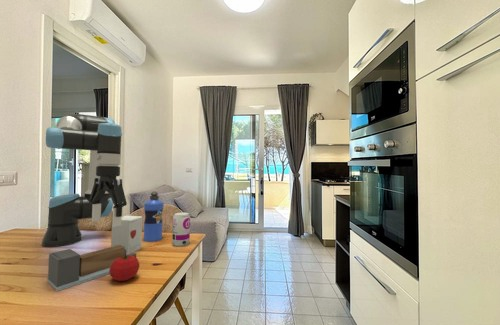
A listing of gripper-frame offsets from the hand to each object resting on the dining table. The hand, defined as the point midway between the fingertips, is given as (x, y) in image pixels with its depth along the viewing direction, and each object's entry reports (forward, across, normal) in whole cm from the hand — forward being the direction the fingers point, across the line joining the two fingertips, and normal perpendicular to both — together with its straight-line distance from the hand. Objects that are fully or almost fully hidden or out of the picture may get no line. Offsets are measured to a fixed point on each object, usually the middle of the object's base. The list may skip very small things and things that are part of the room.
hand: (106, 223), depth 83 cm
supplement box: (+17, -12, +16) cm, 26 cm away
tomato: (+17, +13, 0) cm, 21 cm away
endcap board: (+17, 0, -3) cm, 17 cm away
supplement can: (+17, +2, +35) cm, 39 cm away
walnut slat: (+16, 0, -1) cm, 16 cm away
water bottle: (+17, -17, +33) cm, 41 cm away
